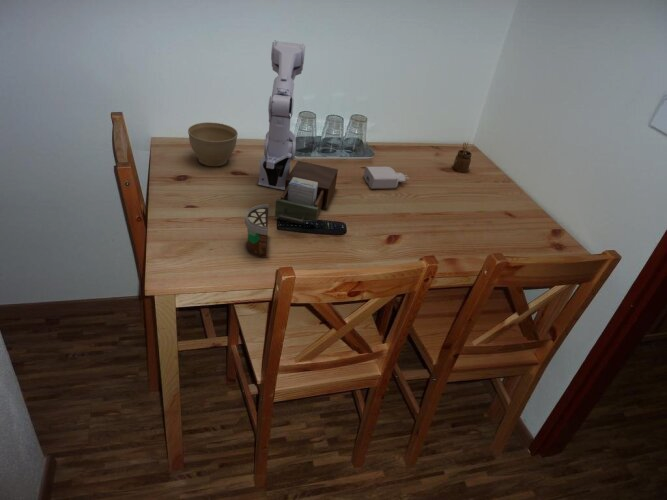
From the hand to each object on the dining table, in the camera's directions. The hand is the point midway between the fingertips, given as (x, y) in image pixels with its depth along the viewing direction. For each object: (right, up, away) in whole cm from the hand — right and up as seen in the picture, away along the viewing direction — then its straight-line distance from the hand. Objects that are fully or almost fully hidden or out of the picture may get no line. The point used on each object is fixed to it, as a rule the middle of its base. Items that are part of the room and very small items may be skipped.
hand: (275, 180), depth 151 cm
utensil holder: (+66, +11, +47) cm, 82 cm away
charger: (+36, +3, +29) cm, 46 cm away
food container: (-4, -20, -13) cm, 24 cm away
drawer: (+7, -10, +2) cm, 12 cm away
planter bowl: (-24, +10, +25) cm, 37 cm away
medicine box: (+7, -8, +3) cm, 11 cm away
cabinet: (+10, -3, +14) cm, 18 cm away
